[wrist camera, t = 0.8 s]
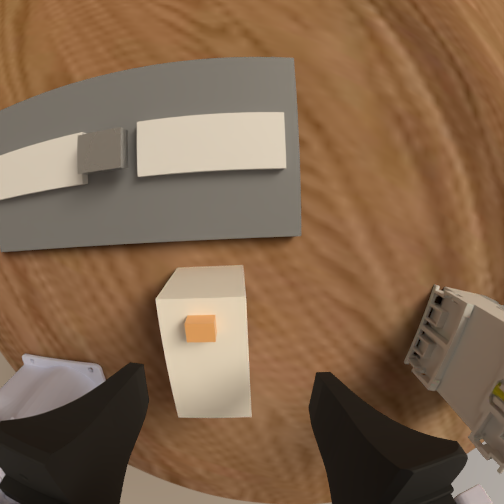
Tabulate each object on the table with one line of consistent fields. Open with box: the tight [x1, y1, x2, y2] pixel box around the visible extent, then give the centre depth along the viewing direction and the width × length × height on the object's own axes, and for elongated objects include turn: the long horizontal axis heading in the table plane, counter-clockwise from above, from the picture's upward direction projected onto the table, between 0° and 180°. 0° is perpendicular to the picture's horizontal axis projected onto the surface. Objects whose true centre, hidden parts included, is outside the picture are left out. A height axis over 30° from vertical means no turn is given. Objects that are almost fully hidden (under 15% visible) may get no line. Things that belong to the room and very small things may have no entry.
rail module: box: [155, 265, 252, 418], centre depth 18 cm, size 4×8×7 cm, turn 2°
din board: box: [0, 57, 301, 252], centre depth 17 cm, size 24×12×2 cm, turn 92°
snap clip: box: [77, 127, 128, 174], centre depth 15 cm, size 3×2×1 cm
